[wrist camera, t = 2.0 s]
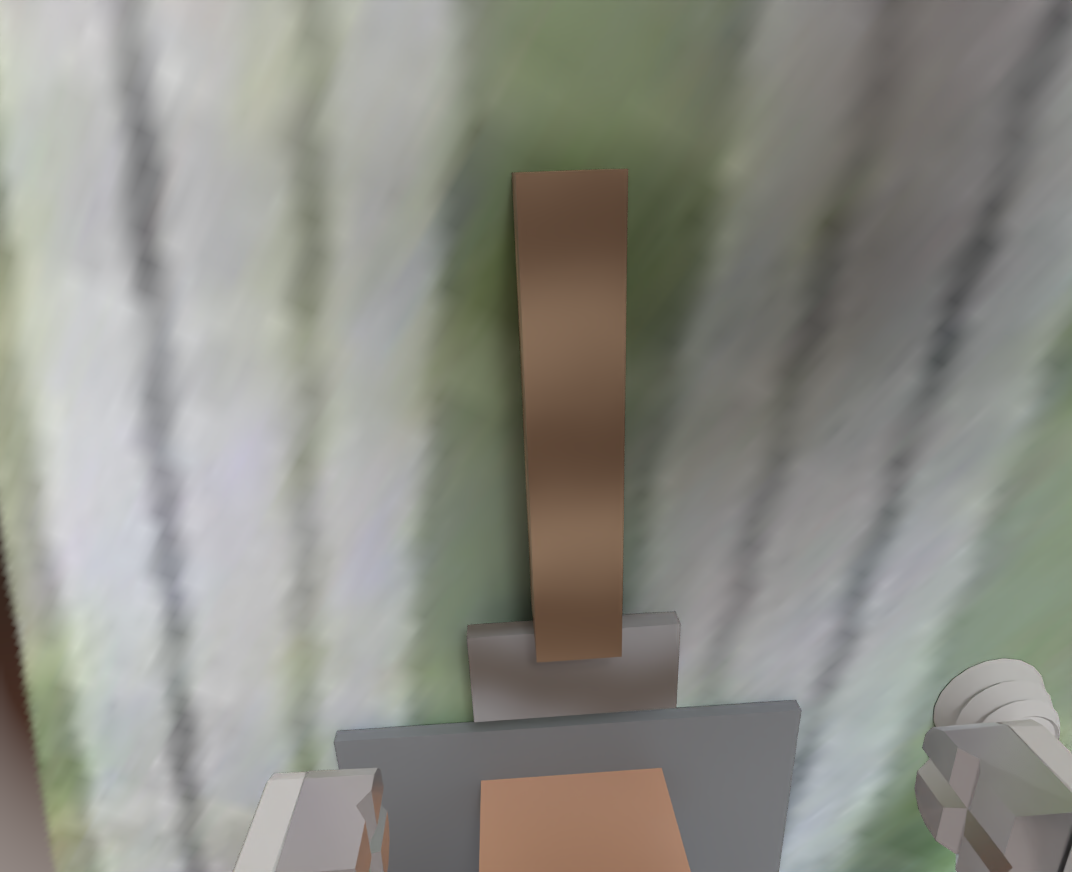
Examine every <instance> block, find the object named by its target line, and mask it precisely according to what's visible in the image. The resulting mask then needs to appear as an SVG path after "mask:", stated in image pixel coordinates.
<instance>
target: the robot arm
mask: <svg viewBox="0 0 1072 872" xmlns="http://www.w3.org/2000/svg"><path fill="white" fill-rule="evenodd" d="M922 748H923V750H924V751H925V752H926V754H927V755H928V757H929V758H930V759H929V760H928V761H927V762H926V763H925V764H924V765H923V766H922V767H921V768H920V769H919V770H918V771H917V776H916V783H915V794H916V799H917V804H918V809H919V811H920V814H921V816H922V818H923V820H924V823H925V825H926V826H927V828H928V829H929V831H930V832H931V834H932V835H933V837H934V839H935V840H936V841H937V842H939V843H940V844H942V845H943V846H945V847H946V848H948V849H949V850H951V851H952V852H954V853H955V854H956V871H957V872H1072V753H1071V752H1070V751H1069V750H1068V749H1067V748H1066V747H1065V746H1064V745H1063V744H1062V743H1061V742H1060V741H1059V740H1058V739H1057V738H1056V737H1055V736H1054V735H1053V734H1052V733H1051V732H1050V731H1049V730H1048V729H1047V728H1046V727H1045V726H1043V725H1042V724H1040V723H1038V722H1036V721H1034V720H1032V719H1027V720H1015V721H1003V722H997V723H993V722H990V723H978V724H966V725H954V726H942V727H932V728H931V729H930V730H929V731H928V732H927V733H926V734H925V738H924V742H923V747H922ZM383 789H384V785H383V780H382V774H381V770H380V769H379V768H362V769H340V770H318V771H309V772H290V773H274V774H273V775H272V777H271V778H270V779H269V780H268V782H267V783H266V785H265V788H264V791H263V793H262V796H261V798H260V801H259V804H258V806H257V809H256V812H255V814H254V817H253V820H252V822H251V825H250V827H249V830H248V833H247V835H246V838H245V841H244V843H243V846H242V849H241V851H240V854H239V856H238V859H237V862H236V864H235V867H234V870H233V872H387V870H388V861H389V843H390V838H389V821H388V813H387V810H386V809H385V808H384V807H382V806H381V801H382V795H383Z"/></svg>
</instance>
